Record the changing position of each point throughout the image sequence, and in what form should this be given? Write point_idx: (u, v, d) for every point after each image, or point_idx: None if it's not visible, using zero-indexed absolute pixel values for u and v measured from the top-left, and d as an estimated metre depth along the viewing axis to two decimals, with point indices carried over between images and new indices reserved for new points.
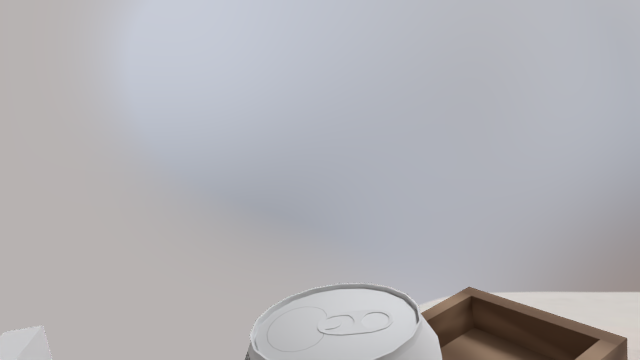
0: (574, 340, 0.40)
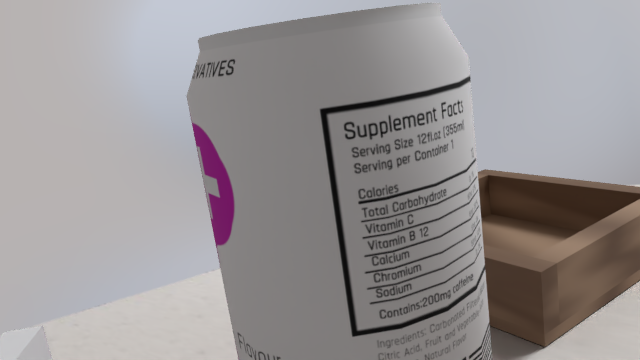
0: (615, 202, 0.33)
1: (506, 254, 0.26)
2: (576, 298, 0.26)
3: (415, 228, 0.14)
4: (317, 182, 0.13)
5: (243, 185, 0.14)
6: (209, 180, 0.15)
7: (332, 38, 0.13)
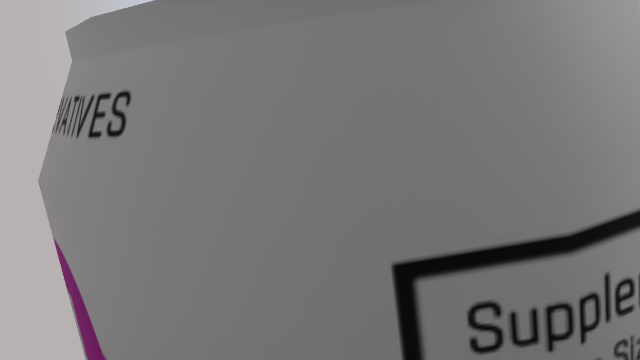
0: None
1: None
2: None
3: None
4: None
5: None
6: None
7: (427, 29, 0.04)
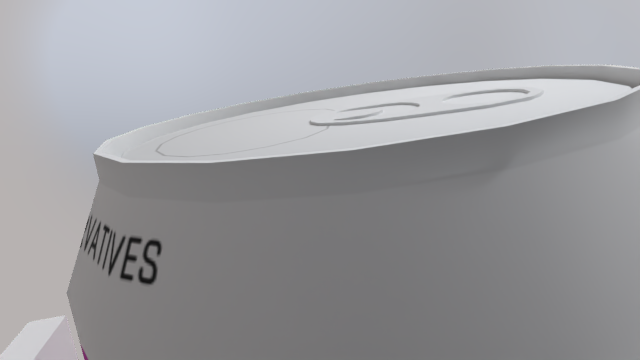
0: None
1: None
2: None
3: None
4: None
5: None
6: None
7: (442, 208, 0.04)
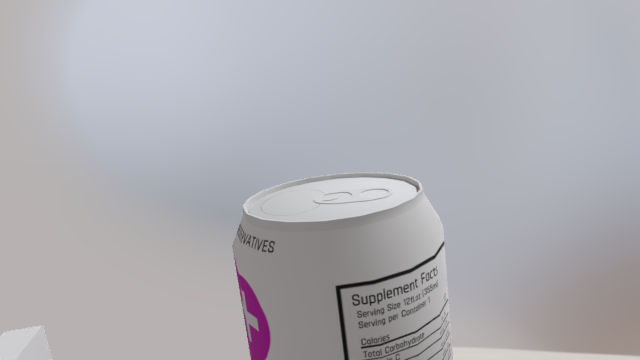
0: None
1: None
2: None
3: None
4: (332, 334, 0.18)
5: (277, 328, 0.19)
6: (251, 316, 0.20)
7: (344, 234, 0.18)
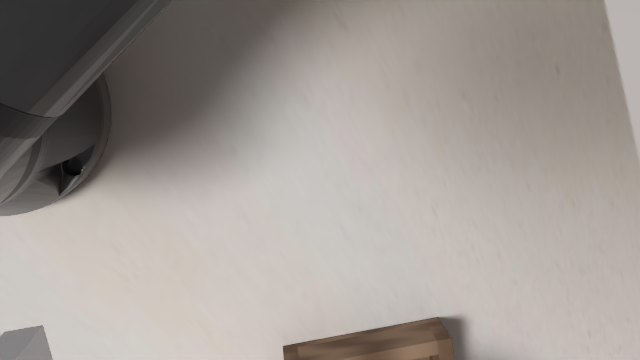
0: None
1: None
2: (411, 330, 0.46)
3: None
4: None
5: None
6: None
7: None
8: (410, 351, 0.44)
